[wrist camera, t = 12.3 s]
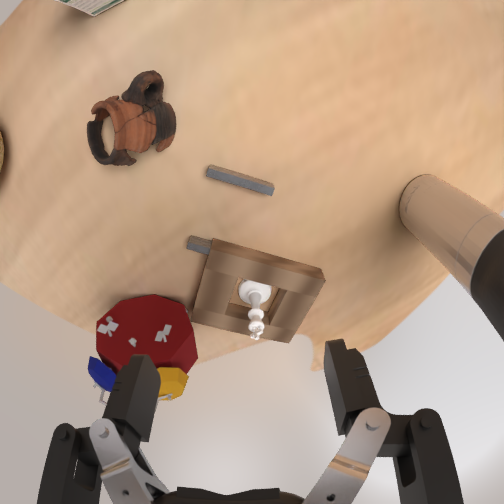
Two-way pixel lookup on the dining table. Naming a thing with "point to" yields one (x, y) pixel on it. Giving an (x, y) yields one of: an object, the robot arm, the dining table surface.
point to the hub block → (262, 271)
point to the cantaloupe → (1, 151)
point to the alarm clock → (145, 343)
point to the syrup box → (91, 5)
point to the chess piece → (254, 303)
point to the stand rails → (233, 178)
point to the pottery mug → (133, 121)
